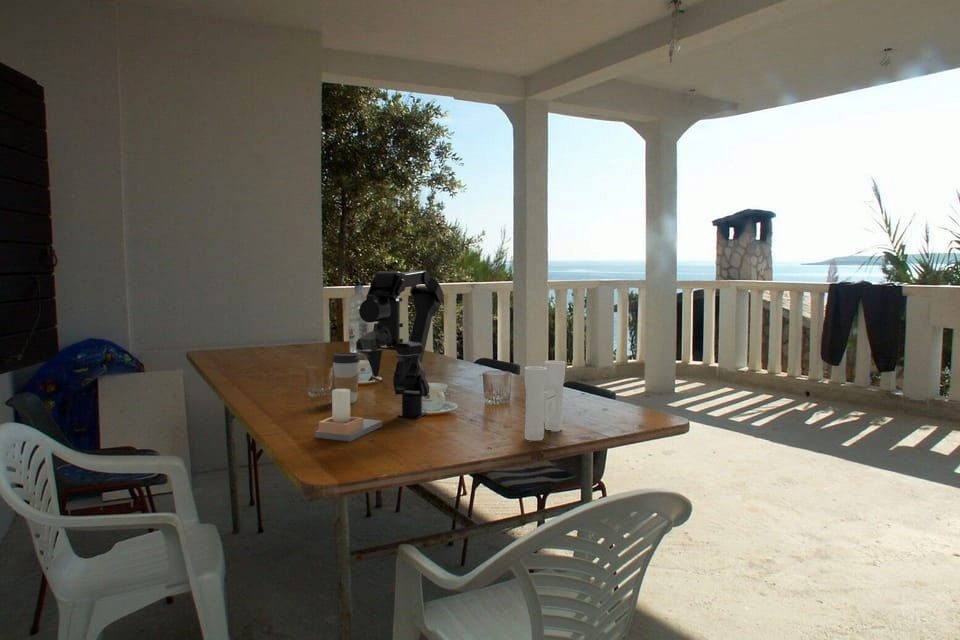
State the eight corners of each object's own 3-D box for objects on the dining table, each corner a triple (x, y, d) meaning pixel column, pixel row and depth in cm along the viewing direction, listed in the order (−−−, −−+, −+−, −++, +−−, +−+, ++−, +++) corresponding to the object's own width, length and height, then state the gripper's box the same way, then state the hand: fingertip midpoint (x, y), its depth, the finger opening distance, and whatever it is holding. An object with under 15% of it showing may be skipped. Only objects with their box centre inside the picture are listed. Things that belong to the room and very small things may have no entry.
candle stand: (349, 422, 180) (349, 408, 179) (382, 426, 176) (382, 411, 176) (315, 437, 165) (315, 421, 164) (350, 441, 161) (350, 425, 161)
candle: (334, 427, 169) (334, 388, 168) (352, 427, 169) (351, 388, 168) (330, 431, 164) (330, 391, 163) (348, 431, 164) (348, 392, 163)
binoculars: (539, 443, 161) (540, 370, 160) (519, 440, 164) (520, 368, 163) (567, 428, 176) (568, 361, 175) (548, 425, 179) (549, 359, 177)
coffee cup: (356, 405, 202) (356, 356, 201) (329, 404, 202) (329, 355, 201) (362, 399, 210) (362, 352, 209) (336, 398, 210) (335, 352, 209)
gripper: (340, 319, 172) (341, 378, 173) (394, 324, 161) (394, 387, 162) (371, 316, 181) (371, 373, 182) (423, 321, 170) (423, 381, 171)
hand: (388, 378), depth 174 cm, fingers open, 9 cm apart
